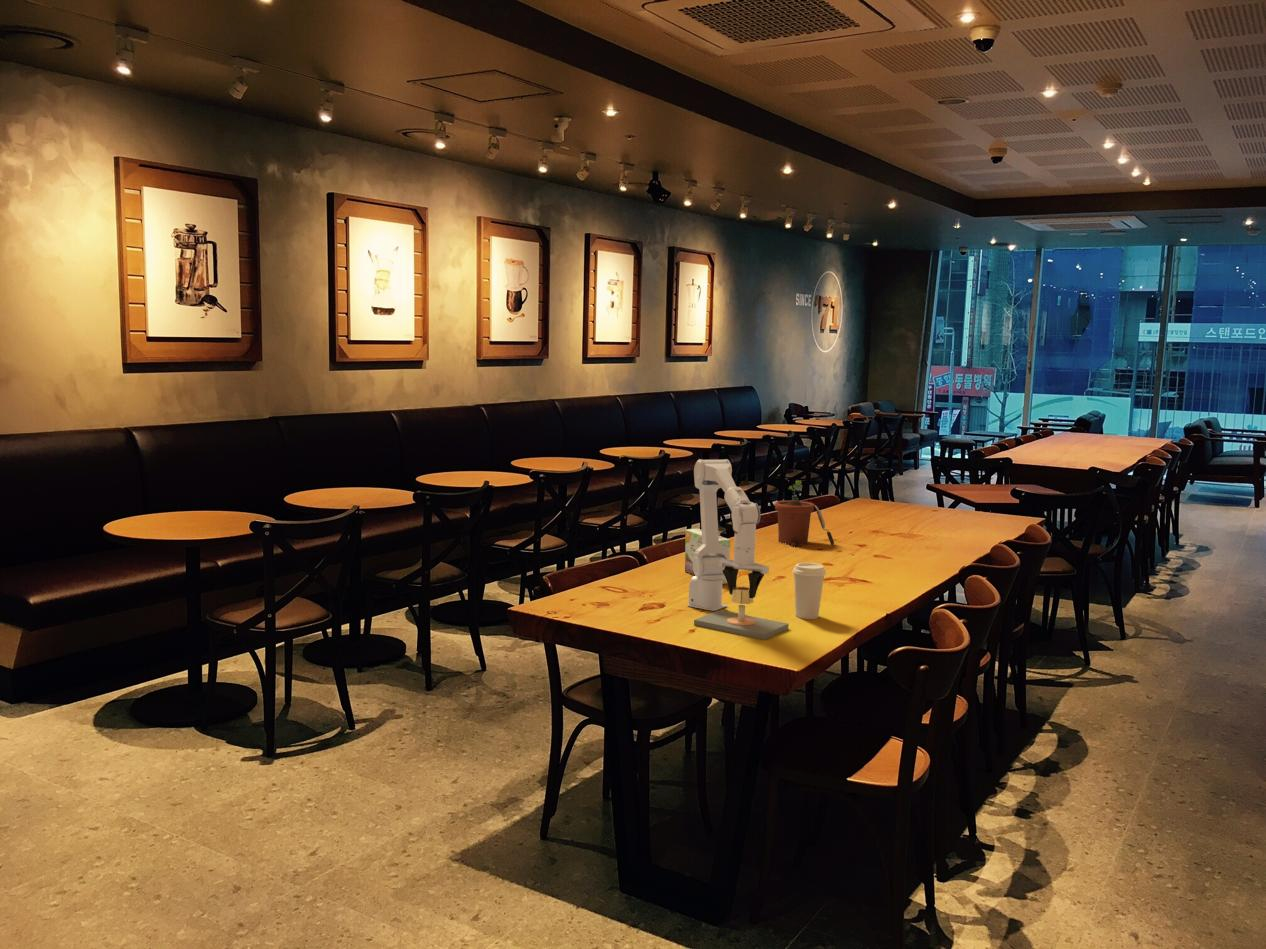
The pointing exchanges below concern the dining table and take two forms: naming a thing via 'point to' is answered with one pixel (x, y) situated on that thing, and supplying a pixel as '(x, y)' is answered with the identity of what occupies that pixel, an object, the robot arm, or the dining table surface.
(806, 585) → the coffee cup
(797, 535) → the potted plant
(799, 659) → the dining table surface
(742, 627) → the post board
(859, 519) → the dining table surface
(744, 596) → the wooden collar
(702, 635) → the dining table surface
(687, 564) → the snack box
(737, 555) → the robot arm
